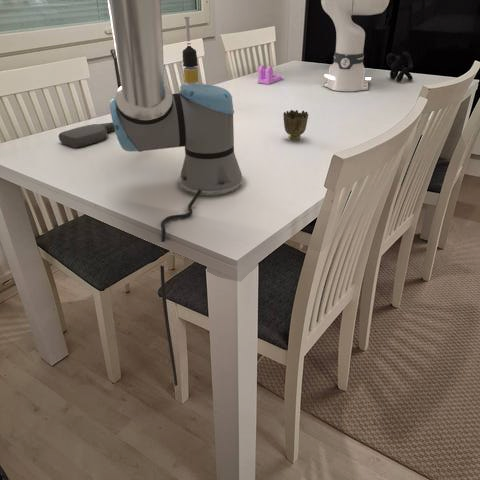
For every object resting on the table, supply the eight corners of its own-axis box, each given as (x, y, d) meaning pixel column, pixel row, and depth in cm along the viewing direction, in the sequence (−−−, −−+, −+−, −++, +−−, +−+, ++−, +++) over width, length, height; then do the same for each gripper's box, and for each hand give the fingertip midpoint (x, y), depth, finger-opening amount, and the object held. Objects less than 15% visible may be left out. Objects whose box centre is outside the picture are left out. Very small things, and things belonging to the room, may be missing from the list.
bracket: (268, 84, 198) (268, 67, 194) (258, 82, 201) (258, 66, 197) (284, 78, 207) (284, 62, 203) (274, 77, 209) (274, 61, 206)
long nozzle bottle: (202, 103, 173) (196, 17, 157) (188, 104, 171) (181, 18, 155) (197, 99, 177) (192, 15, 161) (184, 101, 176) (177, 16, 160)
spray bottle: (57, 141, 138) (121, 123, 154) (77, 149, 132) (142, 129, 148) (55, 132, 136) (120, 114, 152) (75, 139, 130) (141, 120, 146)
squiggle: (400, 92, 202) (376, 71, 205) (417, 76, 202) (392, 56, 205) (405, 81, 191) (380, 59, 194) (423, 64, 191) (397, 42, 194)
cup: (278, 141, 135) (279, 114, 131) (287, 133, 140) (288, 108, 136) (301, 144, 132) (303, 118, 128) (310, 137, 137) (312, 111, 133)
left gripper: (149, 15, 119) (159, 103, 131) (91, 21, 107) (108, 117, 120) (168, 16, 114) (176, 107, 127) (109, 24, 103) (125, 123, 116)
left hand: (143, 112), depth 123 cm, fingers closed on tin, 5 cm apart
